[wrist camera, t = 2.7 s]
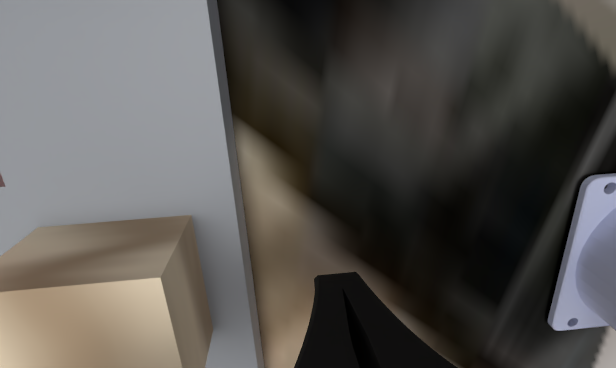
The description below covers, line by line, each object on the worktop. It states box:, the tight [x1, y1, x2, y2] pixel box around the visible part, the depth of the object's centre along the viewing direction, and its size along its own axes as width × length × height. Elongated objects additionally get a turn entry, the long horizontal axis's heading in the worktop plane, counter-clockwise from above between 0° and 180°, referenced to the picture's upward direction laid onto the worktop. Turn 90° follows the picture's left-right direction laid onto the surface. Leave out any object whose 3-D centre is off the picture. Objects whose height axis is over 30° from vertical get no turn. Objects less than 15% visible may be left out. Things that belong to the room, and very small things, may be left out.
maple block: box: [0, 215, 213, 368], centre depth 11 cm, size 5×5×4 cm
